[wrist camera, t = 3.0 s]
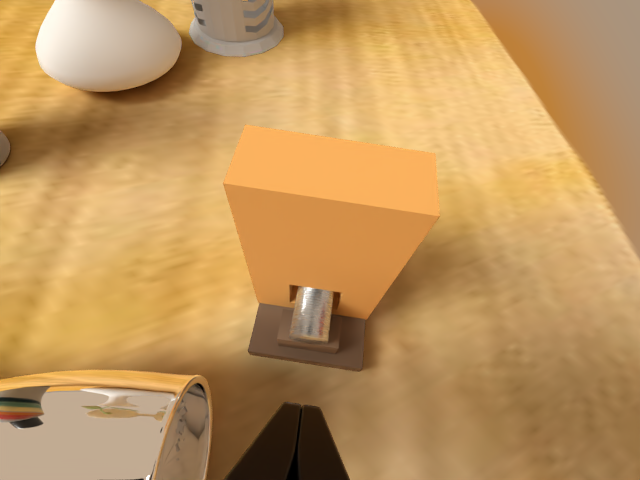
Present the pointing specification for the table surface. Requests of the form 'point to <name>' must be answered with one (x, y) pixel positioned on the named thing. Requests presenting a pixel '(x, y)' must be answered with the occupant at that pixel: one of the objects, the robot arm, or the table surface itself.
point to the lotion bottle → (4, 148)
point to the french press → (235, 26)
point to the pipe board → (277, 344)
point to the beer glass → (105, 426)
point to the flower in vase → (106, 44)
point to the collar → (328, 214)
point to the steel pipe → (311, 315)
